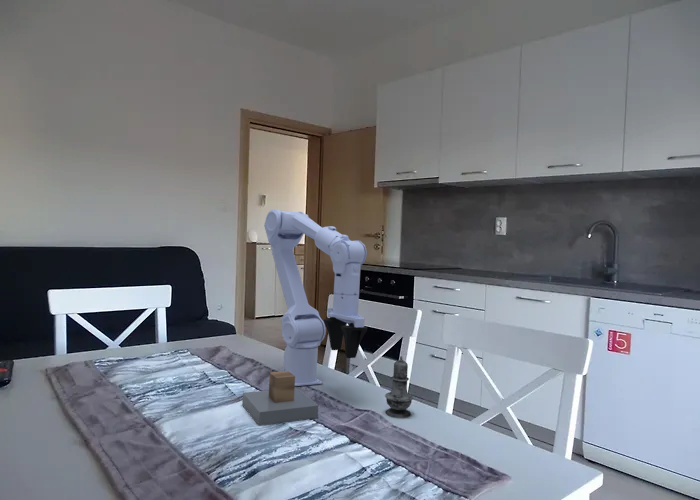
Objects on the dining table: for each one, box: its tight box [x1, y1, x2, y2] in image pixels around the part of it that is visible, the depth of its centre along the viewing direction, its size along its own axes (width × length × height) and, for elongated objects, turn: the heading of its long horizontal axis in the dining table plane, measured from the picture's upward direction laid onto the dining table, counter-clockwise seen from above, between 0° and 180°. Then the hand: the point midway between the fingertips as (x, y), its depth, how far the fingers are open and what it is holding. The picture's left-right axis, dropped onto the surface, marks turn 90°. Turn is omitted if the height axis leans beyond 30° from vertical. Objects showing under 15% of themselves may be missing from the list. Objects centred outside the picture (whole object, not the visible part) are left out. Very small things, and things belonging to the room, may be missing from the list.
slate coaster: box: [241, 387, 319, 426], centre depth 99 cm, size 12×12×2 cm
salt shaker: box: [384, 356, 414, 419], centre depth 101 cm, size 6×6×12 cm
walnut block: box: [268, 371, 296, 403], centre depth 99 cm, size 4×4×5 cm
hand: (343, 353), depth 109 cm, fingers open, 7 cm apart
